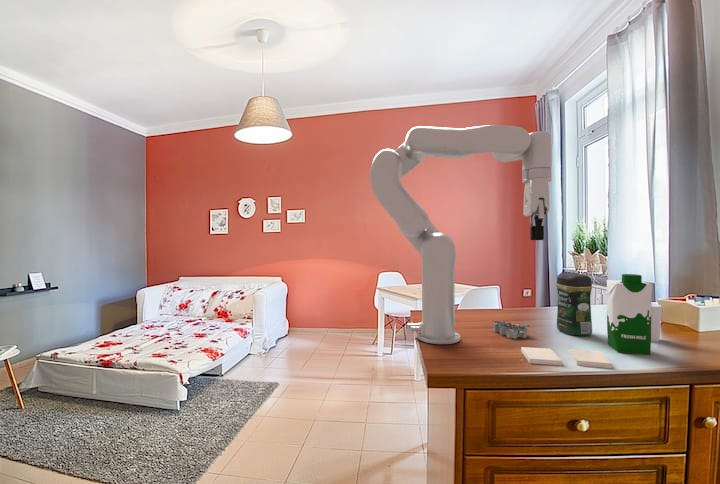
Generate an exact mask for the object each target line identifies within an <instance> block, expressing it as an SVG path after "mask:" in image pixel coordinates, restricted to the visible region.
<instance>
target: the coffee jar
mask: <svg viewBox="0 0 720 484" xmlns="http://www.w3.org/2000/svg"><path fill="white" fill-rule="evenodd" d="M556 290H557V314H556V328H557V329H558V330H559V331H561V332H563V333H564V334H565V333H566V334H568V335H571V336H579V337H588V336H589V335H592V334H593V321H592V320H593V319H592V308H591V307H592V305H591V296H592V290H593V282H592V278H591V277H590V276H589V275H585V274H580V273H574V272H561V273H559V274H558V275H557V277H556Z"/></svg>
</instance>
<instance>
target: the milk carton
mask: <svg viewBox="0 0 720 484" xmlns="http://www.w3.org/2000/svg"><path fill="white" fill-rule="evenodd" d="M642 279H643V278H642V275H641V274H635V273H633V274H632V273H623V274H621V280H620V279H619V280H618V279H615V280H614V279H606V328H607V329H606V330H607V332H606V333H607V344H608V345H609V347H610V348H612V349H614V350H615V352H617V353H624V354H625V353H626V354H636V355H646V356H647V355H648V356H650V355H651V351H652V349H651V346H652V342H651V303H652V293H653V284H652V283H649V282H646V281H644V280H642Z"/></svg>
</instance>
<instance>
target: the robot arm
mask: <svg viewBox="0 0 720 484" xmlns="http://www.w3.org/2000/svg"><path fill="white" fill-rule="evenodd" d="M482 153H483V154H485V153H487V154H488V153H492V156H493V158H494V160H496V161H499V162H502V163H510V162H515V161H521V163H522V164H521V170H522V171H521V173H522V175H521V177H522V178H521V179H522V181H521V182H522V183H523V184H524V191H523V210H522V211H523V212H522V214H523V216H524V217H529V225H530V229H529V230H530V231H529V233H530V234H529V238H530V241H543V240H545V239H544V238H545V226H544V225H545V215H547V214H549V211H550V186H549V182H551V181H552V135H551V134H550V133H549V132H548V131H541V130H540V131H533V132H530V133H529V132H528V130H526V129H525V128H523V127H520V126H517V125H516V126H515V125H506V124H505V125H502V124H488V125H487V124H486V125H480V126H479V125H478V126H472V127H470V126H469V127H465V128H460V127H458V128H455V127H441V126H439V127H438V126H426V125H425V126H422V125H419V126H414V127H412V128H411V129H410V130H409V131H408V132H407V134H406V136H405V140H404V142H403V143H402V144H401V145H400V146H398V148H396V149H391V148H385V149H382V150H380V151H379V152H377V154H376V155H375V156H374V158H373V160H372V162H371V166H370V170H369V181H370V188H371V190H372V192H373V194H374V196H375V198H376V200H377V201H378V202H379V204H380V205H381V206H382V207H383V209H384V210H385V211H386V213H387V214H388V215H389V216H390V217H391V218H392V220H393V221H394V222H395V223H396V224H397V226H398V229H399V231H400V232H401V234H402V235H403V236H404V238H406V239H407V240H408V242H409V243H410V244H411V245H412V247H414V249H415V250H416V251H417V252H418V254H419V255H421V322H418V323H414V322H408V323H407V326H406V327H407V330H410V331H411V332H417V333H416V338H417V339H418V340H419V341H422V342H424V343H428V344H433V345H452V344H457V343H458V342H460V341H461V335H460V333H458V332H457V331H456V313H455V311H456V310H455V309H456V305H455V304H456V301H455V299H456V298H455V291H456V290H455V271H456V270H455V269H456V268H455V267H456V257H457V253H456V250H457V249H456V244H455V243H454V241H453V239H452V237H450V236H449V235H448V234H446V233H444V232H440V230H439V229H438V228H437V227H436V226H435V225H434V223H433V222H432V221H431V220H430V217H429V214H428V213H427V211H426V210H425V209H424V208H422V206H421V205H420V204H419V203H418V202H417V201H416V200H415V199H414V197H413V196H412V195H411V194H410V193H409V191H408V190H407V189H406V187H404V185H403V184H402V182H401V178H403V177H404V176H405V175H407V174H408V173H409V172H411V171H412V170H414V169H415V168H416V167H417V166H418V165H420V164H421V163H422V162H423V161H424V160H425V159H427V157H431V158H432V157H433V158H447V159H462V158H466V157H470V156H473V155H477V154H482Z"/></svg>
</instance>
